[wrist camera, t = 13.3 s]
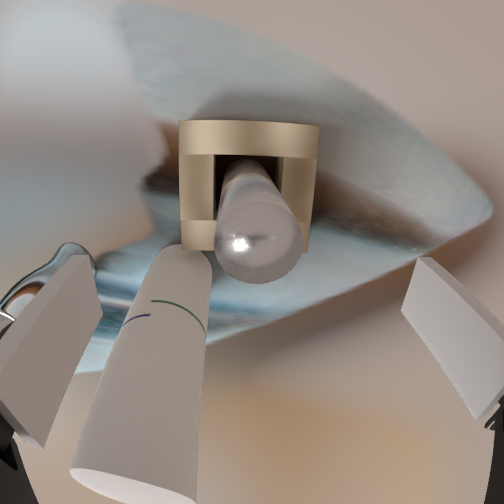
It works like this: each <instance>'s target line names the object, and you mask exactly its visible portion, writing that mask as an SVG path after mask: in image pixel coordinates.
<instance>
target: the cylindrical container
mask: <svg viewBox="0 0 504 504" xmlns="http://www.w3.org/2000/svg"><path fill="white" fill-rule="evenodd" d="M212 276H213V274H212V267H211V264H210V262H209V260H208V259H207V257H206V256H205V255H204V254H203V253H202V252H201V251H199V250H182V244H175V245H170V246H168V247H165V248H164V249H162V250H161V251H160V252H159V253H158V254H157V255H156V257H155V258H154V260H153V262H152V264H151V266H150V268H149V270H148V272H147V274H146V276H145V278H144V280H143V282H142V284H141V286H140V288H139V290H138V292H137V295H136V297H135V299H134V301H133V303H132V305H131V307H130V309H129V312H128V314H127V316H126V318H125V321H124V323H123V325H122V327H121V330H120V332H119V334H118V336H117V339H116V341H115V343H114V346H113V348H112V350H111V353H110V355H109V358H108V360H107V363H106V365H105V368H104V370H103V373H102V375H101V378H100V380H99V383H98V385H97V388H96V391H95V393H94V396H93V399H92V402H91V404H90V407H89V410H88V413H87V416H86V419H85V422H84V425H83V428H82V431H81V434H80V437H79V440H78V444H77V447H76V450H75V453H74V457H73V461H72V464H71V467H70V471H69V472H70V474H71V476H72V477H73V478H74V479H75V480H77V481H78V482H79V483H81V484H82V485H84V486H85V487H87V488H89V489H91V490H93V491H95V492H97V493H99V494H101V495H104V496H106V497H109V498H111V499H114V500H117V501H120V502H123V503H127V504H196V494H197V493H196V492H197V465H198V464H197V463H198V443H199V426H200V410H201V395H202V381H203V369H204V357H205V344H206V333H207V323H208V313H209V303H210V294H211V284H212Z"/></svg>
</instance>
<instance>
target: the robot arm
mask: <svg viewBox="0 0 504 504" xmlns="http://www.w3.org/2000/svg"><path fill="white" fill-rule="evenodd" d="M401 312H402V313H403V315H404V316H405V317H406V318H407V320H408V321H409V323H410V324H411V325H412V327H413V328H414V329H415V331H416V332H417V333H418V335H419V336H420V338H421V339H422V340H423V342H424V343H425V344H426V346H427V347H428V349H429V350H430V351H431V353H432V354H433V356H434V357H435V359H436V360H437V361H438V363H439V364H440V366H441V367H442V369H443V370H444V372H445V373H446V375H447V376H448V377H449V379H450V380H451V382H452V384H453V385H454V387H455V388H456V390H457V391H458V393H459V394H460V396H461V398H462V399H463V400H464V402H465V404H466V406H467V407H468V409H469V410H470V412H471V414H472V415H473V417H474V419H475V420H477V419H479V418H481V417H483V416H485V415H487V414H488V413H489V412H490V411H491V410H492V409H493V407H494V406H495V405H496V404H497V402H499V404H500V405H501V406H500V407H499V409H498V410H497V411H496V412H495V413H494V415H493V416H492V417H491V418H490V419H489V420H488V421H487V423H486V424H485V427H484V428H487V427H488V426H489V425H490V424H491V423H492V422H493V421H495V423H494V424H493V425H492V426H491V427H490V430H494V431H495V438H494V448H493V456H492V464H491V471H490V477H489V482H488V487H487V492H486V497H485V501H484V504H504V325H503V324H502V323H501V322H500V321H499V320H498V319H497V318H496V317H495V316H494V315H493V314H492V313H491V312H490V311H489V310H488V309H487V308H486V307H485V306H484V305H483V304H482V303H481V302H480V301H479V300H478V299H477V298H476V297H475V296H474V295H473V294H472V293H471V292H470V291H469V290H467V289H466V288H465V287H464V286H463V285H462V284H461V283H460V282H459V281H458V280H456V279H455V278H454V277H453V276H452V275H451V274H450V273H448V272H447V271H446V270H445V269H444V268H443V267H441V266H440V265H439V264H438V263H437V262H436V261H434V260H433V259H432V258H431V257H418V258H417V262H416V265H415V269H414V272H413V275H412V279H411V282H410V285H409V288H408V291H407V294H406V297H405V300H404V303H403V306H402V309H401ZM102 315H103V312H102V309H101V305H100V301H99V297H98V293H97V289H96V285H95V281H94V277H93V272H92V268H91V263H90V258H89V255H72V256H71V257H70V258H69V259H68V260H67V261H66V262H65V263H64V264H63V265H62V266H61V267H60V269H59V270H58V271H57V272H56V273H55V274H54V275H53V276H52V277H51V278H50V279H49V281H48V282H47V283H46V284H45V285H44V286H43V287H42V288H41V290H40V291H39V292H38V293H37V294H36V295H35V297H34V298H33V299H32V300H31V301H30V303H29V304H28V305H27V306H26V307H25V309H24V310H23V311H22V312H21V314H20V315H19V316H18V317H17V319H16V320H14V321H12V322H11V323H10V324H8V325H7V326H6V327H4V328H3V329H2V331H1V332H0V504H39V503H38V501H37V499H36V496H35V494H34V492H33V489H32V487H31V485H30V482H29V479H28V477H27V474H26V471H25V468H24V465H23V462H22V459H21V456H20V453H19V450H18V447H17V444H16V442H15V440H14V439H13V438H12V436H13V433H14V431H15V432H16V433H17V434H18V435H19V436H20V437H21V438H22V439H23V440H24V441H25V442H27V443H30V444H32V445H35V446H37V447H40V448H44V446H45V443H46V440H47V438H48V435H49V432H50V430H51V427H52V424H53V421H54V419H55V416H56V414H57V411H58V409H59V406H60V404H61V402H62V399H63V397H64V394H65V392H66V389H67V387H68V385H69V383H70V380H71V378H72V376H73V374H74V372H75V370H76V367H77V365H78V363H79V361H80V359H81V357H82V355H83V353H84V351H85V349H86V347H87V345H88V343H89V341H90V339H91V337H92V335H93V333H94V331H95V329H96V327H97V325H98V323H99V321H100V319H101V317H102Z"/></svg>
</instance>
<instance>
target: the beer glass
mask: <svg viewBox="0 0 504 504" xmlns="http://www.w3.org/2000/svg"><path fill="white" fill-rule="evenodd" d="M72 255H89V258H90V263H91V268H92V272H93V277H95V272H96V268H95V263H94V260H93V258H92V256H91V255H90V253H89V252H88V251H87V250H86V249H85V248H84V247H82V246H81V245H79V244H76V243H65V244H63V245H62V246H60V247H59V249H58V250H57V251H56V253H55V255H54V256H53V258H52V259H51V260H50V261H49V262H48V263H47V264H45V265H43V266H42V267H40V268H38V269H37V270H35V271H33V272H31V273H30V274H28V275H27V276H25V277H24V278H23V279H21V280H20V281H18V282H17V283H16V284H15V285H14V286H13V287H12V288H11V289H10V290H9V292H8V293H7V294H6V295H5V296H4V297H3V298H2V300H1V301H0V332H1V331H2V329H3V328H4V327H6V326H7V325H8V324H10V323H11V322H12V321H14V320H16V319H17V317H18V316H19V315H20V314H21V312H22V311H23V310H24V309H25V307H26V306H27V305H28V304H29V303H30V301H31V300H32V299H33V298H34V297H35V295H36V294H37V293H38V292H39V291H40V290H41V288H42V287H43V286H44V285H45V284H46V283H47V282H48V281H49V279H50V278H51V277H52V276H53V275H54V274H55V273H56V272H57V271H58V270H59V269H60V267H61V266H62V265H63V264H64V263H65V262H66V261H67V260H68V259H69V258H70V257H71V256H72Z"/></svg>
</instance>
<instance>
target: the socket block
mask: <svg viewBox="0 0 504 504" xmlns="http://www.w3.org/2000/svg"><path fill="white" fill-rule="evenodd" d="M319 131H320V126H313V125H303V124H293V123H280V122H265V121H244V120H184V121H179V193H180V222H181V241H182V250H201V251H214V236H215V230H216V223H217V217H218V210H219V208H215V205H216V154H229V155H261V156H277V162H276V177H275V186H276V188H277V190H278V191H279V193H280V194H281V196H282V197H283V199H284V201H285V202H286V204H287V206H288V207H289V209H290V210H291V212H292V214H293V215H294V217H295V219H296V220H297V222H298V224H299V226H300V228H301V231H302V235H303V247H302V252H307V247H308V239H309V231H310V223H311V215H312V206H313V197H314V187H315V178H316V167H317V156H318V144H319Z"/></svg>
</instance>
